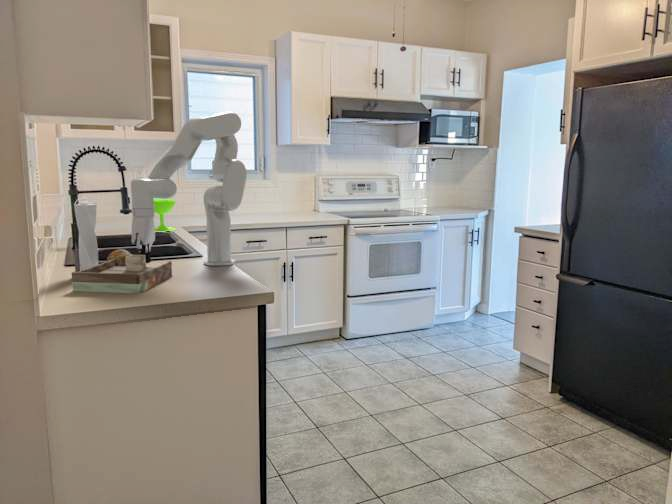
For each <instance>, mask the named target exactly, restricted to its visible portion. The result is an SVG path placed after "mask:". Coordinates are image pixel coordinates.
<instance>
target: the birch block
mask: <svg viewBox="0 0 672 504" xmlns="http://www.w3.org/2000/svg"><path fill="white" fill-rule="evenodd" d="M125 263H126V266H125V267H126V271H142V270H144V269H146V267H147V263H146V258H145V255H140V254H131V255H129V256H126V257H125Z"/></svg>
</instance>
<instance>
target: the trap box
mask: <svg viewBox="0 0 672 504" xmlns="http://www.w3.org/2000/svg"><path fill="white" fill-rule="evenodd" d="M106 261H107V260H106ZM106 261H104V262H102V263H98V265H96V266H93V267H90V268H88V269H85V270H82V271H81V270H80V271H79V272H75V271H73V272H71V284H72V292H87V293H88V292H89V293H90V292H91V293H118V294H119V293H120V294H141V293H144V292H145V291H147V290H149V289H151V288H153V287H154V286H157V285H158V284H160V283H162V282H163V281H166V280H167V279H169V278H171V277H173V270H172V268H173V267H172V265H173V264H172V260H171V261H170V260H168V261H167V262H163V263H162V264H160V265H158V266H155V267H154V266H153V267H152V266H151V267H150V266H149V267H148V266H146V269H144V270H142V271H126V266H116V265H115V259H113V260H110V261H107V262H106Z"/></svg>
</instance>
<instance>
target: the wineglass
mask: <svg viewBox="0 0 672 504" xmlns="http://www.w3.org/2000/svg"><path fill="white" fill-rule="evenodd" d="M175 204H176V200H175V199H170V198H168V199H162V198H156V199H154V214H158V215H159V226H158V227H155V231H170V230H175V229H176V228H174V227H169V226H168V227H167V226H165V224H164V223H165V222H164V215H165V214H167V213H169V212H171V211H172V210H173V208H174V207H175Z"/></svg>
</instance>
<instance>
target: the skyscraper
mask: <svg viewBox="0 0 672 504" xmlns="http://www.w3.org/2000/svg"><path fill="white" fill-rule="evenodd" d="M82 199H83V200H84V199H86V200H85V201H80V203H78V204H77V202H78V201H79V200H82ZM88 200H89V199H88V197H87V196H82V197H78V198H77V199H76V200H75V202H74V203H73V206H74V215H75V220H76V226H77V230H78V246H77V242H76V241H75V243H74V245H75V247H74V252H75V253H74V254H73V255H74V269H75V271H74V272H79V271H82V270H85V269H88V268H90V267H93V266H96V265H99V248H98V240H97V233H96V231H95V230H96V223H97V207H98V206H97V205H98V203H97V202H95V201H92V202H91V201H90V202H89V201H88Z"/></svg>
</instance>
